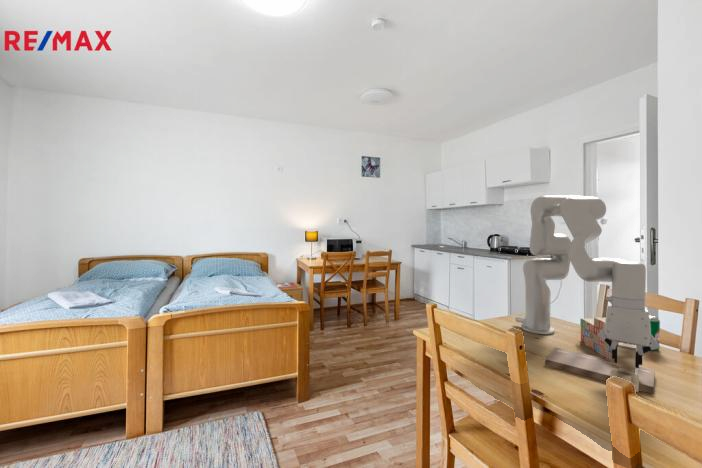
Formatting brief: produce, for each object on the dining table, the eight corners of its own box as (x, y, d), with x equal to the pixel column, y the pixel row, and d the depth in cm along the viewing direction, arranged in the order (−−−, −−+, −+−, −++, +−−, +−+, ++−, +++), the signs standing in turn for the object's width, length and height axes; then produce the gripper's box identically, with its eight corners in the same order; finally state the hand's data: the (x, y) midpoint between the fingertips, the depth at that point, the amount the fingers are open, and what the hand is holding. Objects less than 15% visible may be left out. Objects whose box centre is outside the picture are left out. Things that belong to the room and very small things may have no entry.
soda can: (658, 352, 115) (659, 319, 115) (639, 348, 119) (640, 316, 118) (660, 349, 118) (660, 317, 118) (641, 345, 122) (642, 314, 122)
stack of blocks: (579, 340, 128) (580, 310, 127) (597, 341, 126) (597, 311, 126) (614, 364, 106) (615, 327, 106) (635, 365, 105) (636, 328, 105)
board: (545, 365, 106) (545, 359, 106) (556, 352, 116) (556, 347, 116) (653, 394, 87) (653, 386, 87) (654, 376, 97) (655, 369, 97)
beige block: (610, 385, 92) (610, 351, 91) (616, 368, 102) (616, 337, 102) (638, 392, 87) (638, 357, 87) (641, 374, 98) (642, 342, 98)
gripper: (590, 300, 98) (589, 359, 98) (667, 311, 86) (666, 377, 86) (594, 296, 103) (593, 352, 104) (667, 305, 91) (666, 368, 92)
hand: (626, 363), depth 95 cm, fingers closed on beige block, 4 cm apart
